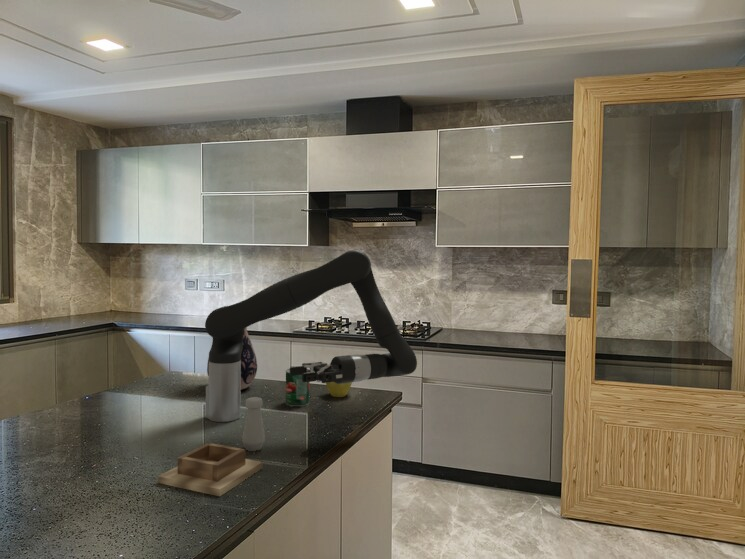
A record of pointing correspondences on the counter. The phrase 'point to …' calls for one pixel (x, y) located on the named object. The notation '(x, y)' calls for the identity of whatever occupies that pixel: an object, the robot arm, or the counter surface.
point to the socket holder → (211, 469)
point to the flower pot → (338, 389)
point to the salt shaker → (253, 425)
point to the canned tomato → (296, 390)
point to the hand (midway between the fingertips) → (296, 374)
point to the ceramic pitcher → (246, 361)
